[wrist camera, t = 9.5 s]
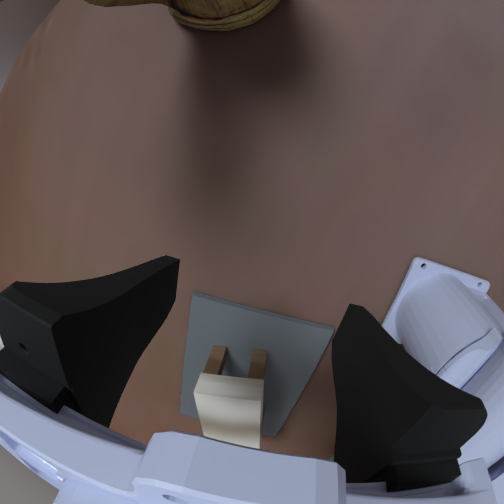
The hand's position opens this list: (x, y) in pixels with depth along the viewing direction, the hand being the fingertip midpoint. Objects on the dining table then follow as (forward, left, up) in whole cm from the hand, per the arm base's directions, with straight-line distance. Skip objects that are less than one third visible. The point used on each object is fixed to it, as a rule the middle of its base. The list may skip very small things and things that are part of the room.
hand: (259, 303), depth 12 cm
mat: (-1, +16, -10) cm, 19 cm away
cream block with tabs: (-1, +16, -9) cm, 18 cm away
